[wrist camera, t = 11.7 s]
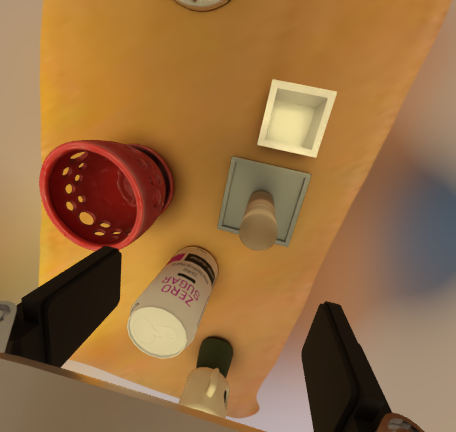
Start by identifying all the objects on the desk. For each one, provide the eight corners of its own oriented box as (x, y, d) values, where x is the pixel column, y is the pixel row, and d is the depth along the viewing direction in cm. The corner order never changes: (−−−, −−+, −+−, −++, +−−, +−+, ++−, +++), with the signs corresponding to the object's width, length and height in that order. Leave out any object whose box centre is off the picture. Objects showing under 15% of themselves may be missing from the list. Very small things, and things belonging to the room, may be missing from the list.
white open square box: (271, 93, 30) (272, 79, 24) (321, 103, 30) (337, 91, 23) (259, 145, 32) (257, 144, 26) (305, 155, 32) (316, 157, 25)
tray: (233, 155, 33) (232, 156, 32) (309, 173, 32) (311, 174, 31) (219, 225, 37) (217, 228, 35) (287, 242, 36) (288, 247, 34)
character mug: (224, 374, 46) (209, 458, 33) (191, 360, 46) (164, 438, 34) (244, 335, 42) (235, 412, 30) (208, 319, 43) (185, 390, 30)
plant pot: (91, 157, 37) (14, 161, 26) (163, 129, 34) (111, 121, 23) (124, 231, 40) (68, 264, 29) (193, 212, 37) (160, 240, 26)
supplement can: (175, 286, 42) (129, 359, 27) (170, 244, 39) (116, 299, 25) (220, 288, 40) (195, 366, 26) (217, 245, 38) (187, 304, 24)
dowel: (252, 187, 33) (243, 210, 21) (276, 192, 33) (282, 219, 21) (246, 210, 35) (235, 245, 22) (269, 216, 34) (271, 254, 22)
